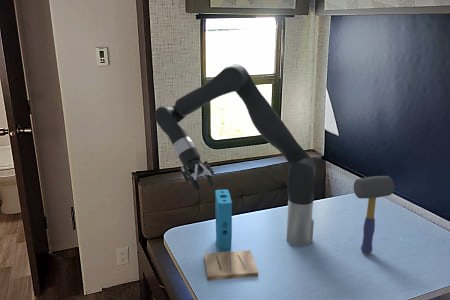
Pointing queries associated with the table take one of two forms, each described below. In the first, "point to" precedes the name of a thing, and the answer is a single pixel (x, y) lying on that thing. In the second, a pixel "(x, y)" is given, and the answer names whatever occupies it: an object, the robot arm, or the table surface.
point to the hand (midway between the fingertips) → (206, 188)
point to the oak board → (230, 265)
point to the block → (223, 219)
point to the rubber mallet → (371, 203)
